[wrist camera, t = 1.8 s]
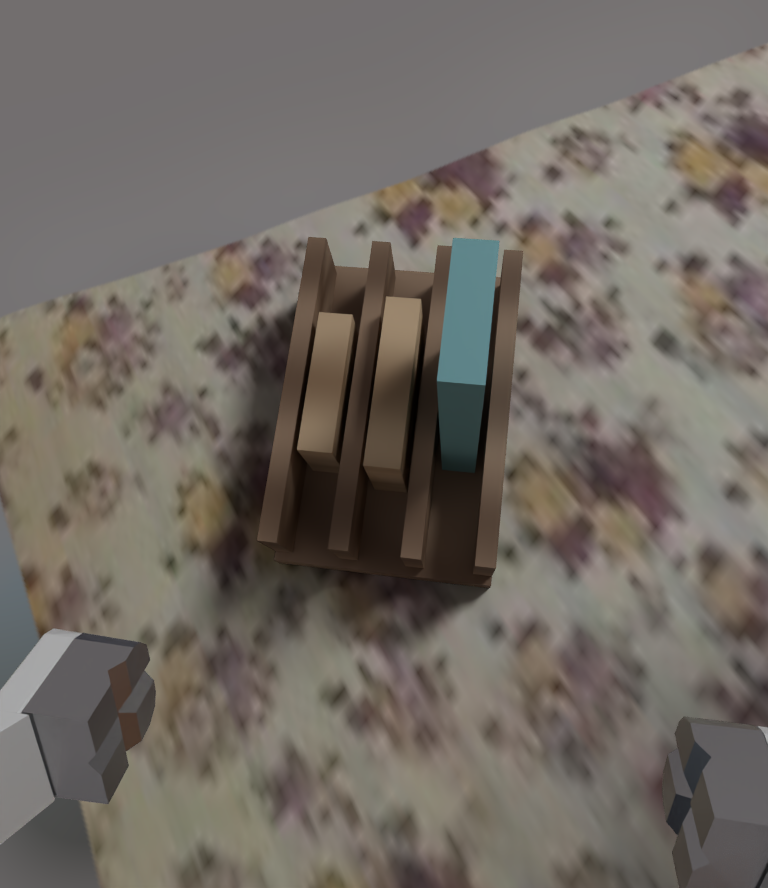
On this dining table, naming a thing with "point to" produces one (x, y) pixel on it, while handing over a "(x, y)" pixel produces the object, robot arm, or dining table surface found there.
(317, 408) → the small oak offcut
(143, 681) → the robot arm
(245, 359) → the dining table surface
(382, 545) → the walnut board rack
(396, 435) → the short oak offcut
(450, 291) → the tall teal board
